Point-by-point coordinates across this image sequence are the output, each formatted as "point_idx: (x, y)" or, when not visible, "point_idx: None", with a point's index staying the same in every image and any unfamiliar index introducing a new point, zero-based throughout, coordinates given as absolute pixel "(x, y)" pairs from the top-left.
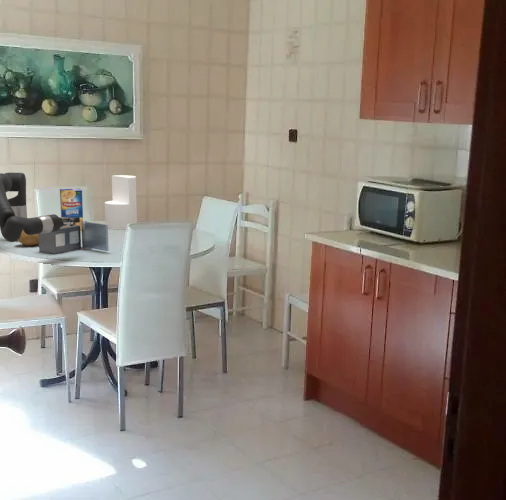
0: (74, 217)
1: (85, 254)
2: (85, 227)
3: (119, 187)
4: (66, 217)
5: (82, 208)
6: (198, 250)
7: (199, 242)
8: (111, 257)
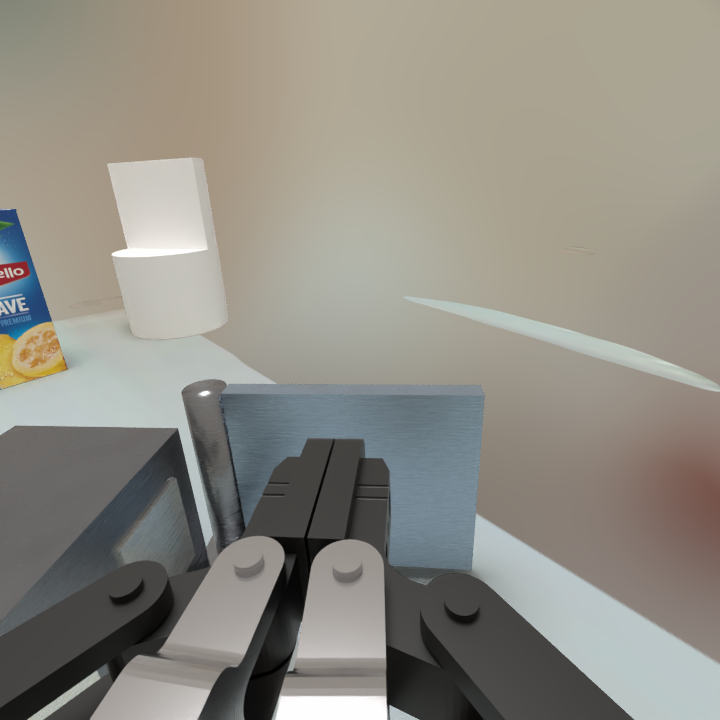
0: (299, 474)
1: None
2: (235, 434)
3: (152, 200)
4: (223, 675)
5: (40, 287)
6: (674, 375)
7: (535, 334)
8: (652, 673)
